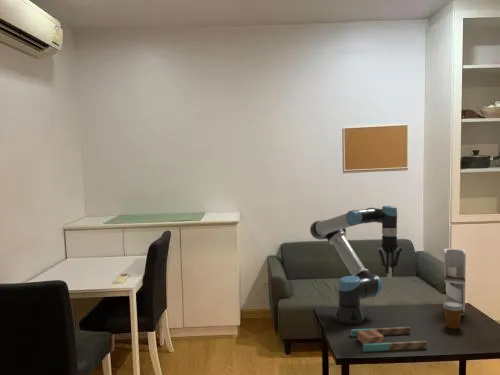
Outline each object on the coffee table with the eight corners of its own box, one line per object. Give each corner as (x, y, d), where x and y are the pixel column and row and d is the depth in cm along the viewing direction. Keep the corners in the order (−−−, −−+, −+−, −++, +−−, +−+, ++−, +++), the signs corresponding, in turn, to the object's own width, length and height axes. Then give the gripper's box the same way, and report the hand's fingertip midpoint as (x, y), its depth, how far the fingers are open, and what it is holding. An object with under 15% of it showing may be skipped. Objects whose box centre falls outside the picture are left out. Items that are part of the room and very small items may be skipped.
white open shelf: (443, 307, 261) (444, 248, 259) (463, 309, 257) (464, 249, 255) (444, 313, 251) (444, 252, 249) (464, 315, 247) (465, 253, 244)
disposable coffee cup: (461, 331, 225) (461, 308, 224) (441, 327, 230) (441, 305, 229) (463, 325, 233) (464, 302, 232) (444, 322, 238) (444, 300, 237)
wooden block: (366, 347, 208) (366, 338, 208) (357, 339, 217) (357, 331, 216) (383, 345, 210) (383, 336, 210) (374, 338, 219) (374, 329, 218)
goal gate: (363, 351, 203) (363, 345, 203) (351, 335, 222) (351, 329, 222) (389, 350, 204) (389, 344, 204) (374, 334, 223) (374, 328, 222)
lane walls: (389, 350, 204) (389, 344, 204) (374, 334, 223) (374, 328, 222) (426, 348, 205) (426, 342, 205) (408, 332, 224) (409, 326, 224)
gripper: (380, 236, 228) (380, 281, 230) (404, 236, 229) (404, 280, 231) (374, 234, 236) (374, 277, 237) (398, 233, 237) (398, 277, 238)
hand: (389, 279), depth 234 cm, fingers closed
